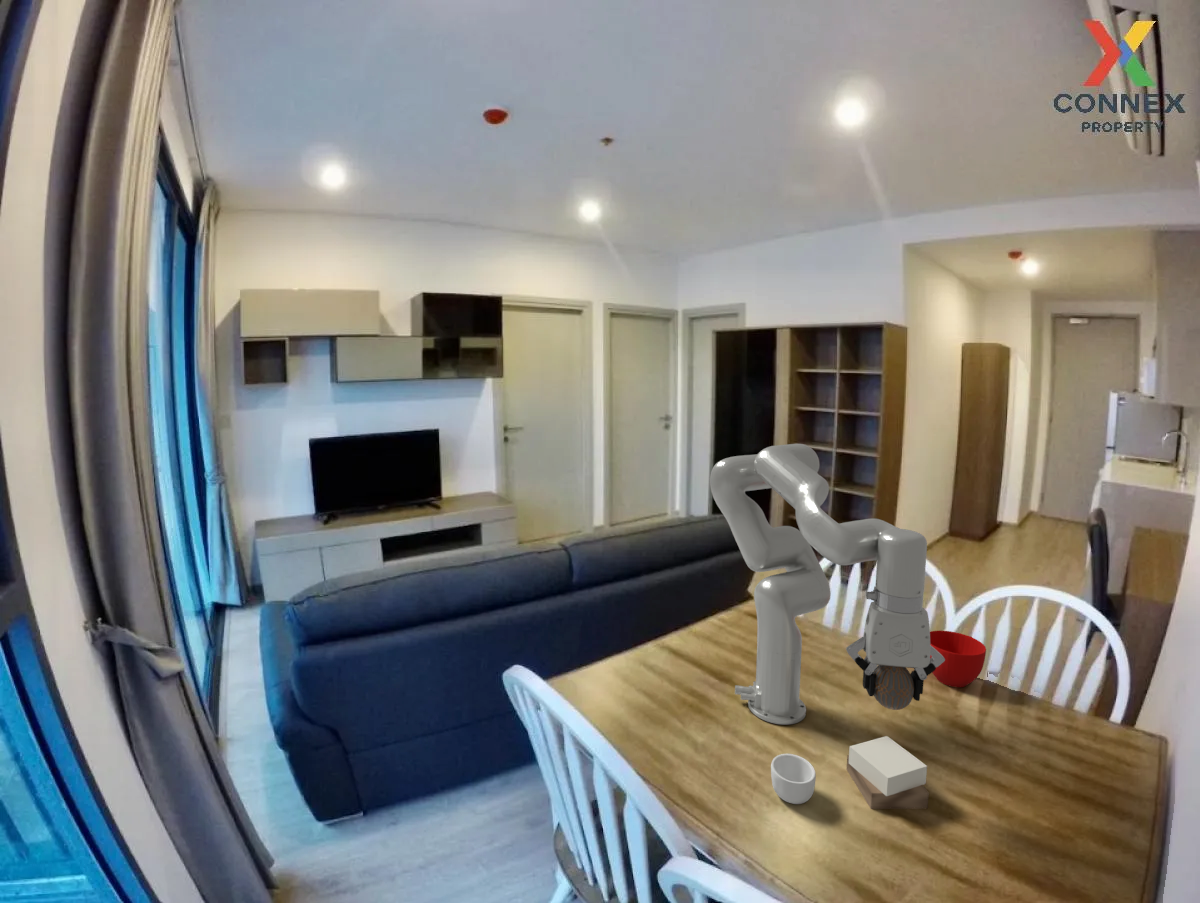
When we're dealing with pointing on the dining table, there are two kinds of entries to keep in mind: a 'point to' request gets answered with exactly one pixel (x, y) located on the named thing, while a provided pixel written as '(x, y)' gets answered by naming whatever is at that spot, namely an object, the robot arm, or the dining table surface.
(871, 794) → the base block
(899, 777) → the top block
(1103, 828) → the dining table surface
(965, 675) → the red rounded bowl
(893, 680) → the vase
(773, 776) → the teacup
